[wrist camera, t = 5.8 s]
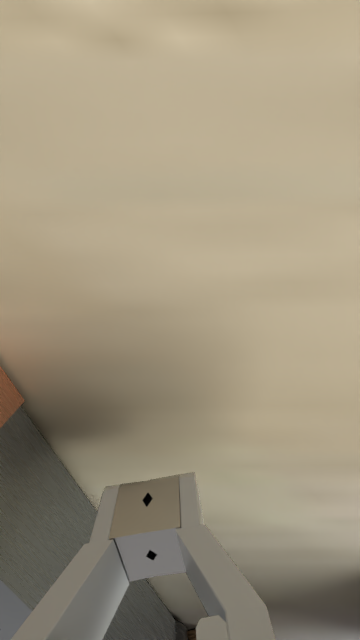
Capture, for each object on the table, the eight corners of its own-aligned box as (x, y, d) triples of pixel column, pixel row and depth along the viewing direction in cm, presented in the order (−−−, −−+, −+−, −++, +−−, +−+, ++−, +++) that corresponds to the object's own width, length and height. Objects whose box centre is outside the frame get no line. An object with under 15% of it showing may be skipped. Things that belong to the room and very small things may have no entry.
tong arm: (193, 635, 15) (201, 776, 11) (154, 647, 15) (148, 789, 11) (-19, 334, 9) (-167, 408, 5) (-80, 360, 9) (-267, 450, 5)
